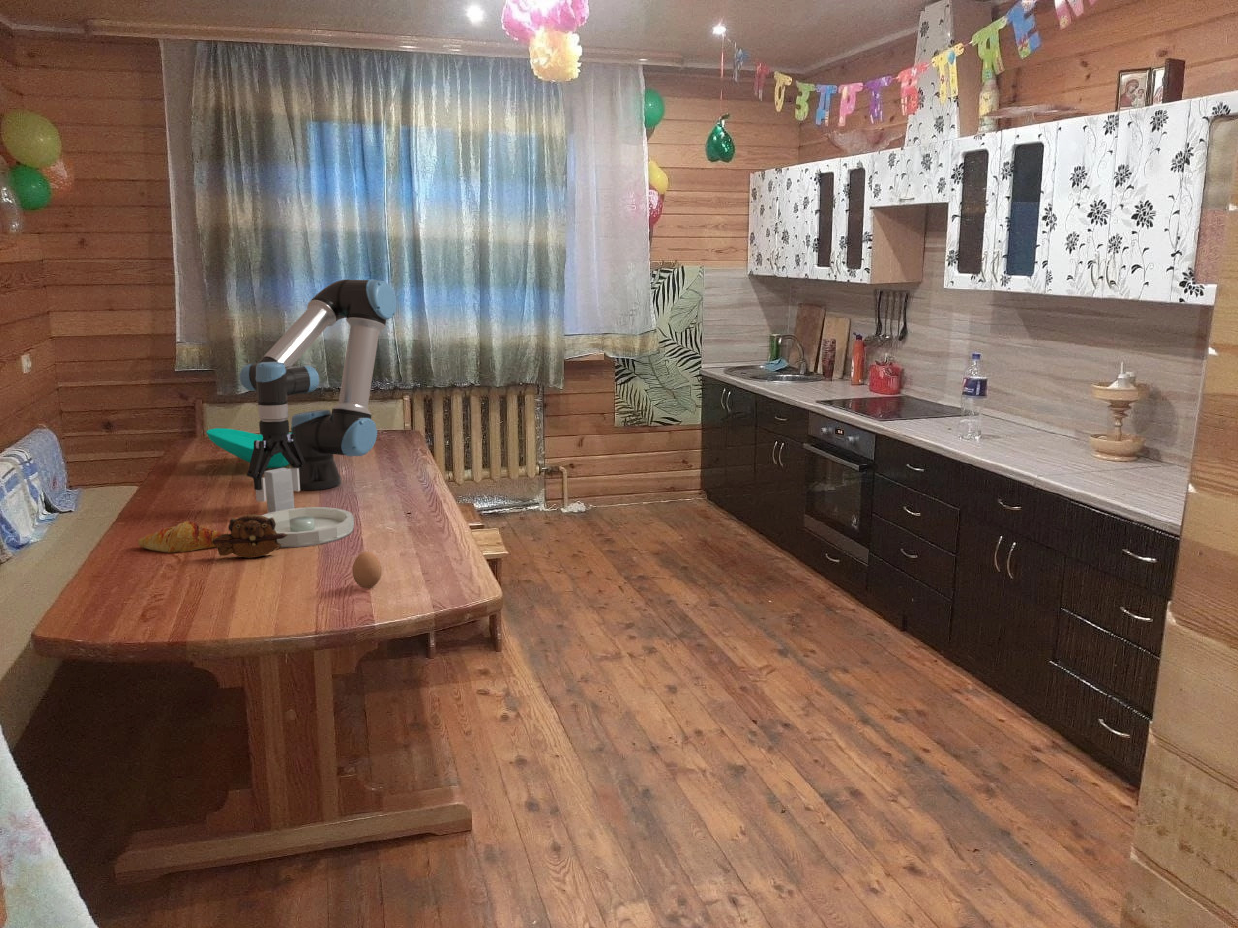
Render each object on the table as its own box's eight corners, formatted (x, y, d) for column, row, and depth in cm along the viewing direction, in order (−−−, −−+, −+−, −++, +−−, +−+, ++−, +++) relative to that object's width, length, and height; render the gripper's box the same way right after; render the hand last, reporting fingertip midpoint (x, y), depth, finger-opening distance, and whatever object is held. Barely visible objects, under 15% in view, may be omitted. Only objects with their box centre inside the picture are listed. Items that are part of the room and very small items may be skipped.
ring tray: (295, 516, 254) (294, 503, 253) (373, 525, 245) (372, 512, 245) (228, 541, 231) (226, 527, 230) (310, 552, 222) (309, 538, 222)
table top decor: (204, 479, 297) (200, 438, 294) (214, 462, 323) (210, 424, 320) (334, 471, 308) (331, 432, 306) (333, 455, 334) (331, 418, 332)
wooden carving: (212, 563, 214) (208, 521, 212) (215, 557, 219) (211, 516, 217) (288, 557, 219) (285, 516, 217) (289, 551, 223) (286, 511, 221)
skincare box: (286, 508, 262) (283, 467, 259) (295, 511, 259) (292, 469, 256) (266, 513, 257) (263, 470, 254) (275, 515, 254) (271, 473, 252)
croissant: (136, 566, 223) (126, 543, 218) (146, 537, 231) (137, 513, 226) (228, 561, 226) (221, 537, 221) (236, 532, 233) (229, 508, 228)
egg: (388, 586, 199) (386, 551, 197) (363, 594, 194) (361, 557, 193) (372, 580, 203) (370, 545, 201) (347, 587, 198) (345, 552, 196)
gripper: (293, 412, 265) (297, 485, 269) (228, 425, 242) (234, 504, 246) (315, 414, 263) (319, 487, 267) (252, 427, 240) (257, 507, 244)
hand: (278, 495), depth 257 cm, fingers open, 13 cm apart
